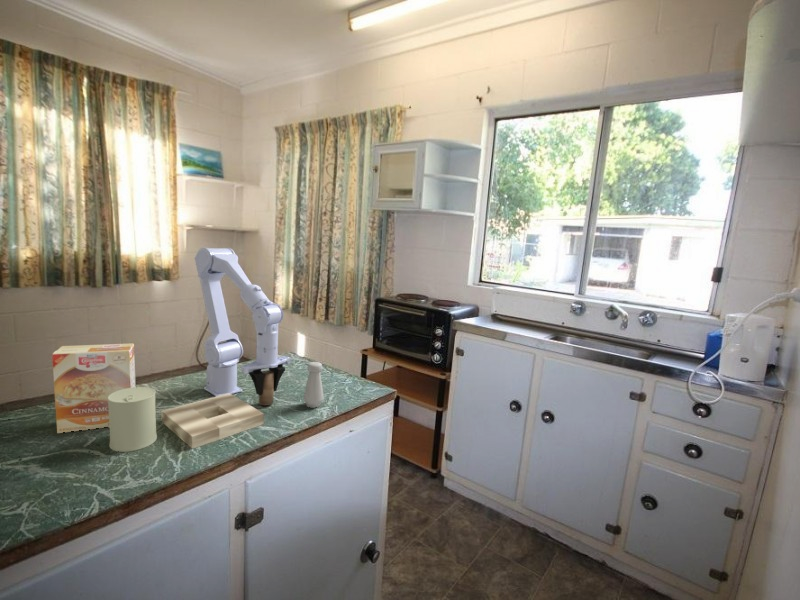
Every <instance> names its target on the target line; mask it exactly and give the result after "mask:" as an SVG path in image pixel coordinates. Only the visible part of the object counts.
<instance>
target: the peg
mask: <svg viewBox="0 0 800 600" xmlns="http://www.w3.org/2000/svg"><path fill="white" fill-rule="evenodd" d="M261 371H262V373H264V374H265V377H264V381H263V393H262V395H258V404H259V405H260V406H270V405H272V404H273V403H274V396H275V395H274V393H275V391H274V372H273V371H269V369H268V370H266V369H265V370H261Z"/></svg>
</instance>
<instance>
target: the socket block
mask: <svg viewBox="0 0 800 600" xmlns="http://www.w3.org/2000/svg"><path fill="white" fill-rule="evenodd" d="M160 414H161V423H162V424H164V425H165V426H166V428H168V429H169V430H170V431H171V432H173V433H174V434H175V435H176V436H177V437H178V438H179V439H181V440H182V441H183V442H184V443H185V444H186V445H187V446H188V447H190V448H191V449H192V450H193V449H197V448H198V447H199V448H200V447H202V446H204V445H207V444H211V443H213V442H217V441H220V440H223V439H225V438H228V437H231V436H233V435H236V434H240V433H243V432H245V431H248V430H251V429H253V428H257V427H259V426H262V425H264V418H265V413H264V412H262V411H260V410H259V409H257V408H255V407H254V406H252V405H250V404H249V403H247V402H245V401H244V400H242V399H240V398H239V397H237V396H235V395H234V394H230V393H228V394H224V395H220V396H212V397H210V398H205V399H201V400H197V401H193V402H190V403H187V404H186V403H185V404H182V405H179V406H178V405H177V406H175V407H170V408H166V409H163V410H161V413H160Z"/></svg>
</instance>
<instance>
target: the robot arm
mask: <svg viewBox="0 0 800 600" xmlns="http://www.w3.org/2000/svg"><path fill="white" fill-rule="evenodd" d="M194 262H195V266H196V271H197V275H198V277H199V282H200V287H201V291H202V296H203V300H204V306H205V310H206V316H207V319H208V323H209V329H210V333H211V334H210V335H209V337H208V338H207V339H205V341H204V349H205V350H204V359H205V360H206V362H207V364H208V365H207V367H206V386H204V387H203V390H204V391H207V392H208V393H210V394H211V395H213V397H216V396H220V395H224V394H228V393H230V394H232V395H234V394H238V393H241V392H243V389H242V388H241V387H239V386H238V363H239V362H240V359H241V358H242V356H243V354H244V348H243V345H242V343H241V341H240V338H239V335H238V334H237V333H235V332H233V331H232V330H231V327H230V324H229V323H230V322H229V318H228V313H227V308H226V305H225V304H226V303H225V299H224V295H223V290H222V284H221V280H222V279H223V277H224V276H227V277H228V278H229V279H230V280H231V281H232V282H233V283H234V285H236V287H237V288H238V289H239V290H240V299H242V301H243V302H244V303H245V305H246V307H248V309H249V311H251V313H252V315H251V316H252V317H251V319H252V321H253V323H254V326H255V327H254V330H255V332H256V360H254V361H253V362H252V361H251V362H250V363H246V364H244V365H243V364H242V365H241V371H240V372H241V373H242V374H243V375H247V374H248V375H249V376H250V378H251V380H252V383H253V386H254V388H255V393H256V394H257V395H258V396H259V395H262V393H263V381H264V377H265V374H264V373H262V371H263V370H266V369H268V370H269V371H273V372H274V392H276V391H277V389H278V385H279V383H280V380H281V378H282V376H283V374H284V373H285V371H286V367H285V366H283V365H291V357H289V356H281V357H280V356H278V355H279V353H278V351H279V324H280V323H281V322H282V320H283V318H284V312H283V309H282V307H281V306H280V305H279V304H278V303H274V302H273V301H271V300H270V299H269V298H268V297H267V295H266V294H265V292H264V291H263V290H262V288H261V286H259V285H258V284H253V283H252V282H251V281H250V280H249V277H248V276H247V274H246V273H245V271H244V270H243V268H242V267H241V265H240V264H239V256H238V255H237V254H236V253H235V251H234V249H232V248H231V247H225V248H223V247H222V248H221V247H219V248H216V247H215V248H214V247H212V248H211V247H201V248H199V249H198V250H197V252H196V255H195V256H194Z"/></svg>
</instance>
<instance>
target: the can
mask: <svg viewBox="0 0 800 600" xmlns="http://www.w3.org/2000/svg"><path fill="white" fill-rule="evenodd" d="M156 393H157V391H156V390H155V389H154V388H152V387H147V386H135V387H132V388H126V389H122V390H119V391H116V392H113V393H112V394H110V395H109V396H108V398H107V399H108V408H109V427H108V428H109V444H108V445H109V448H110V449H111V450H112V451H114V452H118V451H119V452H121V453H122V452H124V453H126V452H134V451H139V450H142V449H144V448H147V447H148V446H149V447H150V446H151V445H152V444H154V443H155V442H156V441H157V439H158V434H157V422H156V421H157V420H156V418H157V414H156Z"/></svg>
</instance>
